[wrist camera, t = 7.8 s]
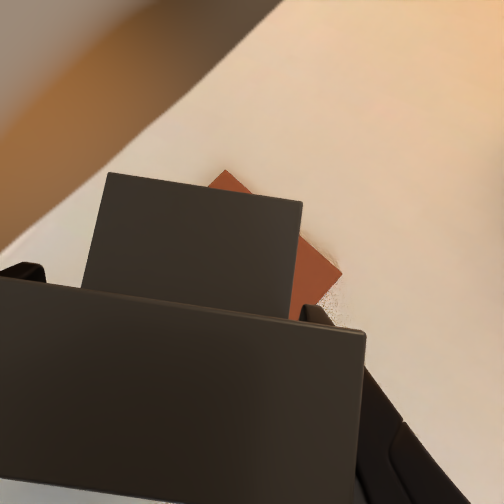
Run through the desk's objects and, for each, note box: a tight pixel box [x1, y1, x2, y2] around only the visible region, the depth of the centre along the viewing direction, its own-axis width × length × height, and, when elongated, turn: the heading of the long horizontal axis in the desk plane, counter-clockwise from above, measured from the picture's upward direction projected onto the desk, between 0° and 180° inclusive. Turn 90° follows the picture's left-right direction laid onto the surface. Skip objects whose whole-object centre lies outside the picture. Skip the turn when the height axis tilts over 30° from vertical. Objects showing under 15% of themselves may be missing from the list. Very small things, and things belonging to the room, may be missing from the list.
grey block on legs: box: [0, 172, 367, 504], centre depth 11 cm, size 6×6×13 cm
